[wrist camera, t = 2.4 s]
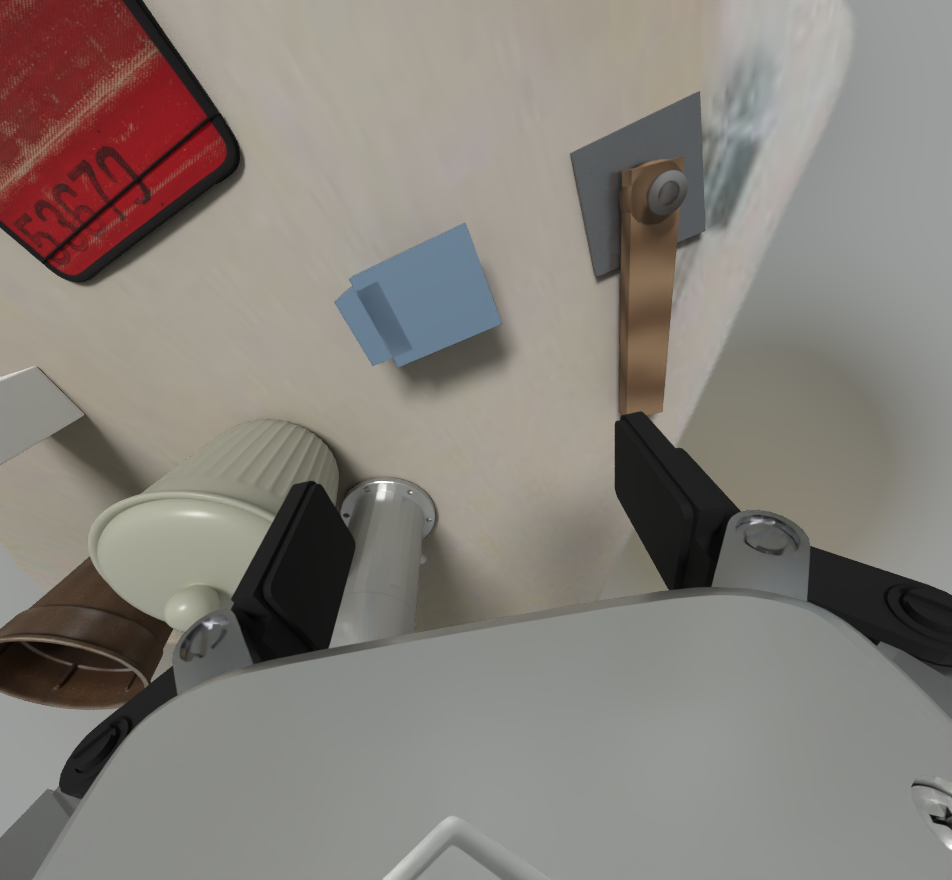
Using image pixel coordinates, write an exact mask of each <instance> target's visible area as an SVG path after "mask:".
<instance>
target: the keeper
mask: <svg viewBox="0 0 952 880" xmlns="http://www.w3.org/2000/svg"><path fill="white" fill-rule="evenodd" d="M349 281H350V283H351V284H352V287H350V288H349V289H348V290H347V291H346V292H344V293H343V294H342V295H341V296H340V297H339V298H338V299H337V300H335V301H334V303H335V304H336V306H337V308H338V309H339V311H340V313H341V314H342V316H343V318H344V319H345V321H346V322H347V324H348V326H349V327H350V329H351V331H352V332H353V334H354V336H355V337H356V339H357V341H358V342H359V344H360V346H361V347H362V349H363V351H364V352H365V354H366V356H367V357H368V359H369V361H370V362H371V364H372V366H374V365H377V364H379V363H381V362H384V361H386V360H388V359H391V358H393V359H394V361H395V363H396V365H397V366H398V367H400V366H403V365H405V364H408V363H410V362H412V361H415V360H417V359H419V358H422V357H424V356H427V355H429V354H431V353H434V352H436V351H438V350H441V349H443V348H446V347H448V346H450V345H453V344H455V343H457V342H460V341H462V340H465V339H467V338H469V337H472V336H474V335H476V334H479V333H481V332H484V331H486V330H488V329H491V328H493V327H495V326H498V325H500V324H502V323H501V320H500V317H499V314H498V312H497V309H496V306H495V303H494V300H493V298H492V295H491V292H490V289H489V287H488V284H487V281H486V278H485V275H484V273H483V270H482V267H481V264H480V262H479V259H478V256H477V253H476V251H475V248H474V245H473V242H472V239H471V237H470V234H469V231H468V228H467V226H466V223H463V224H461V225H459V226H457V227H455V228H453V229H450V230H448V231H446V232H444V233H442V234H440V235H438V236H436V237H434V238H431V239H429V240H427V241H425V242H423V243H421V244H419V245H417V246H415V247H413V248H410V249H408V250H406V251H404V252H402V253H400V254H398V255H396V256H394V257H392V258H389V259H387V260H385V261H383V262H381V263H379V264H377V265H375V266H373V267H370V268H368V269H366V270H364V271H362V272H360V273H358V274H356V275H354V276H352V277H351V278H350V279H349Z"/></svg>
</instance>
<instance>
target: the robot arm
mask: <svg viewBox="0 0 952 880" xmlns="http://www.w3.org/2000/svg"><path fill="white" fill-rule="evenodd" d="M615 491H616V495H617V497H618V499H619V501H620V503H621V505H622V506H623V508H624V510H625V512H626V514H627V515H628V517H629V519H630V521H631V523H632V525H633V526H634V528H635V530H636V532H637V533H638V535H639V537H640V539H641V541H642V543H643V544H644V546H645V548H646V550H647V551H648V553H649V555H650V557H651V559H652V561H653V563H654V564H655V566H656V568H657V570H658V571H659V573H660V575H661V577H662V579H663V581H664V582H665V584H666V586H667V588H668V589H669V590H668V591H659V592H653V593H647V594H640V595H634V596H627V597H621V598H614V599H608V600H601V601H595V602H589V603H584V604H578V605H572V606H566V607H560V608H554V609H548V610H543V611H537V612H531V613H525V614H519V615H513V616H508V617H502V618H496V619H490V620H485V621H479V622H473V623H468V624H462V625H456V626H451V627H445V628H439V629H434V630H428V631H422V632H417V633H415V622H416V608H417V596H418V583H419V570H420V564H424V563H425V562H426V560H427V557H426V556H425V554H424V553H423V552H422V540H423V538H425V537H426V536H427V535H428V534H429V533H430V531H431V529H432V528H433V525H434V522H435V507H434V505H433V502H432V500H431V498H430V497H429V495H428V494H427V493H426V492H425V491H424V490H422V489H421V488H420V487H418V486H417V485H415V484H413V483H411V482H408V481H405V480H402V479H397V478H390V477H380V478H374V479H369V480H366V481H363V482H361V483H359V484H357V485H355V486H354V487H353V488H352V489H351V490H349V492H348V493H347V494H346V496H345V498H344V500H343V503H342V506H341V510H340V514H339V512H338V511H337V509H336V507H335V506H334V504H333V502H332V501H331V499H330V498H329V496H328V494H327V493H326V491H325V489H324V488H323V486H322V485H321V484H317V483H316V482H315V481H306V482H302V483H297V484H294V485H293V486H292V487H291V489H290V491H289V493H288V494H287V496H286V498H285V500H284V502H283V504H282V506H281V507H280V509H279V511H278V513H277V515H276V517H275V518H274V520H273V522H272V524H271V526H270V528H269V530H268V531H267V533H266V535H265V537H264V539H263V541H262V542H261V544H260V546H259V548H258V550H257V552H256V554H255V555H254V557H253V559H252V561H251V563H250V565H249V566H248V568H247V570H246V572H245V574H244V576H243V578H242V579H241V581H240V583H239V585H238V587H237V589H236V590H235V592H234V594H233V596H232V598H231V600H232V601H233V602H234V604H233V606H232V608H231V610H228V609H220V610H216V611H213V612H211V613H209V614H207V615H205V616H204V617H202V618H200V619H199V620H198V621H196V622H195V623H194V624H193V625H192V626H190V627H189V629H188V630H187V631H186V632H185V633H184V634H183V635H182V637H181V638H180V640H179V641H178V643H177V644H176V647H175V649H174V651H173V657H172V663H173V666H172V667H171V668H169V669H168V670H167V671H166V672H164V673H163V674H162V675H160V676H159V677H158V678H157V679H156V680H154V681H153V682H152V683H150V684H149V685H148V686H147V687H145V688H144V689H143V690H142V691H140V692H139V693H138V694H137V695H135V696H134V697H133V698H132V699H130V700H129V701H128V702H127V703H125V704H124V705H123V706H122V707H120V708H119V709H118V710H117V711H115V712H114V713H113V714H112V715H110V716H109V717H108V718H107V719H105V720H104V721H103V722H101V724H99V725H98V726H97V727H96V728H94V729H93V730H92V731H91V732H90V733H89V734H88V735H87V736H86V737H85V738H84V739H83V740H82V741H81V743H80V744H79V745H78V746H77V747H76V748H75V750H74V751H73V753H72V754H71V756H70V757H69V759H68V760H67V762H66V764H65V766H64V768H63V770H62V773H61V777H60V781H59V787H58V788H57V789H56V790H55V791H53V790H49V789H47V790H46V791H45V792H44V793H43V794H42V795H41V796H40V797H39V798H38V799H37V800H36V801H35V802H34V803H33V805H32V806H31V807H30V808H29V809H28V810H27V811H26V812H25V813H24V814H23V815H22V816H21V817H20V818H19V819H18V820H17V821H16V822H15V823H14V824H13V825H12V826H11V827H10V828H9V829H8V830H7V831H6V832H5V834H3V836H2V837H1V838H0V880H952V595H950V594H949V593H947V592H945V591H942V590H939V589H937V588H935V587H932V586H930V585H927V584H924V583H921V582H918V581H915V580H912V579H909V578H906V577H903V576H900V575H897V574H894V573H891V572H888V571H884V570H882V569H879V568H875V567H872V566H869V565H866V564H863V563H860V562H857V561H854V560H851V559H848V558H845V557H842V556H839V555H836V554H833V553H830V552H827V551H824V550H820V549H818V548H815V547H812V546H810V542H809V538H808V536H807V535H806V533H805V532H804V530H803V529H801V528H800V527H799V526H798V525H797V524H796V523H794V522H793V521H791V520H789V519H787V518H785V517H784V516H781V515H778V514H775V513H772V512H768V511H762V510H746V511H742V512H741V511H740V510H739V509H738V508H737V507H736V506H735V504H734V503H733V502H732V501H731V500H730V499H729V498H728V497H727V496H726V495H725V494H724V492H723V491H722V490H721V489H720V488H719V487H718V486H717V485H716V484H715V483H714V482H713V480H711V478H710V477H709V476H708V475H707V474H706V473H705V472H704V471H703V470H702V468H701V467H700V466H699V465H698V464H697V463H696V462H695V461H694V460H693V459H692V458H691V457H690V455H689V454H688V453H687V452H686V451H684V450H683V449H681V448H675V447H674V446H673V445H672V444H671V443H670V442H669V440H668V439H667V438H666V437H665V436H664V435H663V434H662V433H661V431H660V430H659V429H658V428H657V427H656V426H655V425H654V424H653V422H652V421H651V420H650V419H649V418H648V417H647V416H646V415H645V413H643V412H642V411H639V412H634V413H630V414H625V415H622V416H621V418H620V420H619V421H616V422H615ZM340 515H341V516H340Z"/></svg>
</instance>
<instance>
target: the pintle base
mask: <svg viewBox="0 0 952 880" xmlns="http://www.w3.org/2000/svg"><path fill="white" fill-rule="evenodd" d="M570 155H571V160H572V165H573V170H574V175H575V180H576V185H577V190H578V195H579V200H580V205H581V210H582V215H583V220H584V225H585V230H586V235H587V240H588V244H589V249H590V254H591V259H592V264H593V269H594V274H595V276H597V277H598V276H600V275H602V274H605V273H607V272H609V271H612V270H614V269H616V268H619V267H621V210H620V205H619V196H620V191H621V187H622V171H625V170H629V169H633V168H636V167H637V166H638V165H640V164H642V163H645V162H649V161H654V160H660V159H673V158H678V157H684V165H683V174H684V175H685V177H686V179H687V183H688V190H687V194H686V197H685V199H684V201H683V203H682V204H681V206H680V212H679V224H678V236H677V243H678V242H680V241H683V240H685V239H687V238H690V237H692V236H694V235H697V234H699V233H701V232H704V231H705V209H704V183H703V158H702V132H701V107H700V91H699V92H697V93H694V94H692V95H690V96H688V97H686V98H684V99H682V100H680V101H678V102H676V103H674V104H671V105H669V106H667V107H665V108H663V109H661V110H659V111H657V112H655V113H653V114H651V115H649V116H647V117H645V118H643V119H640V120H638V121H636V122H634V123H632V124H630V125H628V126H626V127H624V128H622V129H620V130H618V131H616V132H614V133H612V134H609V135H607V136H605V137H603V138H601V139H599V140H597V141H595V142H593V143H591V144H589V145H587V146H585V147H583V148H581V149H578V150H576V151H574V152H572V153H570Z"/></svg>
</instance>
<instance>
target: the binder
mask: <svg viewBox="0 0 952 880" xmlns="http://www.w3.org/2000/svg"><path fill="white" fill-rule="evenodd" d="M239 161H240V153H239V147H238V144H237V141H236V139H235V137H234V135H233V133H232V132H231V130H230V128H229V127H228V125H227V124H226V122H225V121H224V120H223V118H222V115H221V114H220V113H219V112H218V111H217V109H216V108H215V106H214V105H213V103H212V101H211V100H210V98H209V97H208V95H207V94H206V92H205V91H204V89H203V88H202V86H201V85H200V84H199V82H198V81H197V79H196V78H195V76H194V75H193V73H192V72H191V71H190V69H189V68H188V66H187V65H186V63H185V62H184V60H183V59H182V58H181V56H180V55H179V53H178V52H177V50H176V49H175V48H174V46H173V45H172V43H171V42H170V40H169V39H168V37H167V36H166V34H165V33H164V31H163V30H162V28H161V27H160V26H159V24H158V23H157V21H156V20H155V18H154V17H153V15H152V14H151V12H150V11H149V9H148V8H147V7H146V5H145V4H144V2H143V1H142V0H0V228H1V229H3V230H4V231H5V232H6V233H7V234H8V235H10V236H11V237H12V238H13V239H14V240H16V241H17V242H18V243H19V244H20V245H22V246H23V247H24V248H25V249H26V250H27V251H29V252H30V253H31V254H32V255H33V256H34V257H35V258H37V259H38V260H39V261H41V263H43V264H44V265H45V266H46V267H47V268H48V269H50V270H51V271H52V272H54V273H55V274H56V275H58V276H60V277H61V278H63V279H66V280H68V281H72V282H84V281H87V280H89V279H91V278H92V277H94V276H95V275H96V274H97V273H99V272H100V271H101V270H102V269H103V268H105V267H106V266H107V265H109V264H110V263H111V262H113V261H114V260H115V259H117V258H118V257H119V256H121V255H122V254H123V253H124V252H126V251H127V250H128V249H130V248H131V247H132V246H134V245H135V244H136V243H138V242H139V241H140V240H142V239H143V238H145V237H146V236H147V235H149V234H150V233H151V232H153V231H154V230H155V229H156V228H158V227H159V226H160V225H162V224H163V223H165V222H166V221H167V220H169V219H170V218H171V217H173V216H174V215H175V214H176V213H178V212H179V211H180V210H182V209H183V208H184V207H185V206H187V205H188V204H189V203H191V202H192V201H194V200H195V199H196V198H198V197H199V196H200V195H202V194H203V193H204V192H205V191H207V190H208V189H209V188H211V187H212V186H213V185H215V184H217V183H219V182H221V181H223V180H224V179H226V178H227V177H229V176H230V175H231V174H232V173H233V172H234V171H235V170H236V169H237V167H238V165H239Z"/></svg>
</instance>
